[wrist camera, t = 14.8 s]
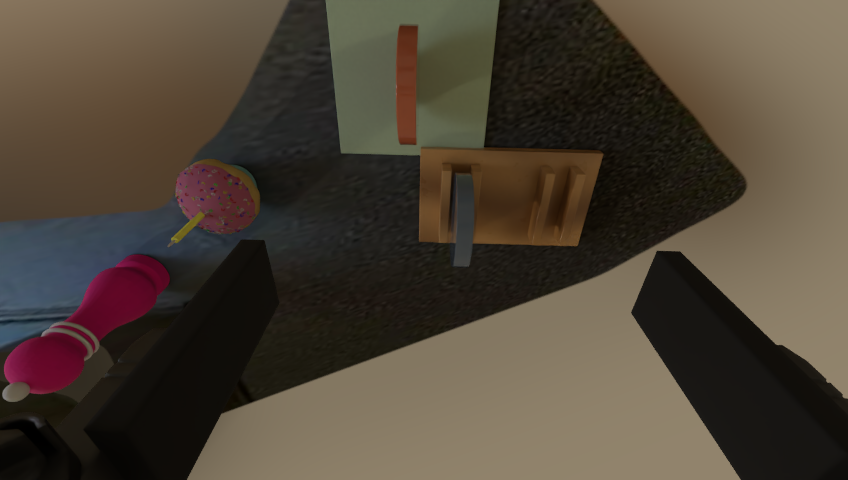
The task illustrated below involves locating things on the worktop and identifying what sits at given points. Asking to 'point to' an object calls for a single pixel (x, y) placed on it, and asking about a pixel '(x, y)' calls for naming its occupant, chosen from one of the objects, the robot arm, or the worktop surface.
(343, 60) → the sage mat
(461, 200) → the slate coaster
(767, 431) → the robot arm
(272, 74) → the worktop surface
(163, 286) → the pepper mill
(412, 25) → the terracotta coaster
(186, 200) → the cupcake
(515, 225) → the coaster rack
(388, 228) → the worktop surface
